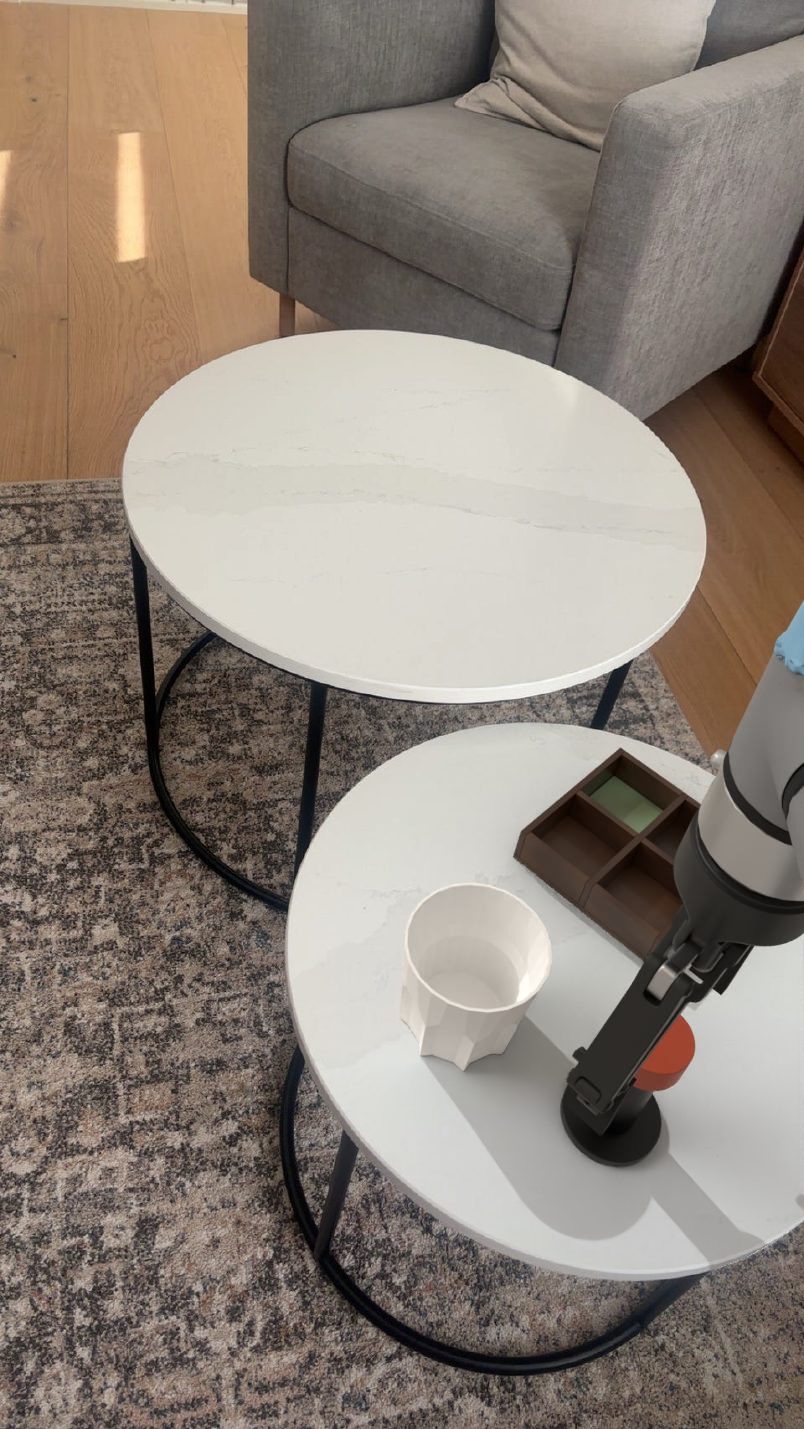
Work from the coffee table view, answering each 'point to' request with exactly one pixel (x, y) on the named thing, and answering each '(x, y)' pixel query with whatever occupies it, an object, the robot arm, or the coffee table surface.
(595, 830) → the grid
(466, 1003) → the cup
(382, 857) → the coffee table surface
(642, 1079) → the token
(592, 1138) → the stand
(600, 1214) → the coffee table surface
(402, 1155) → the coffee table surface
